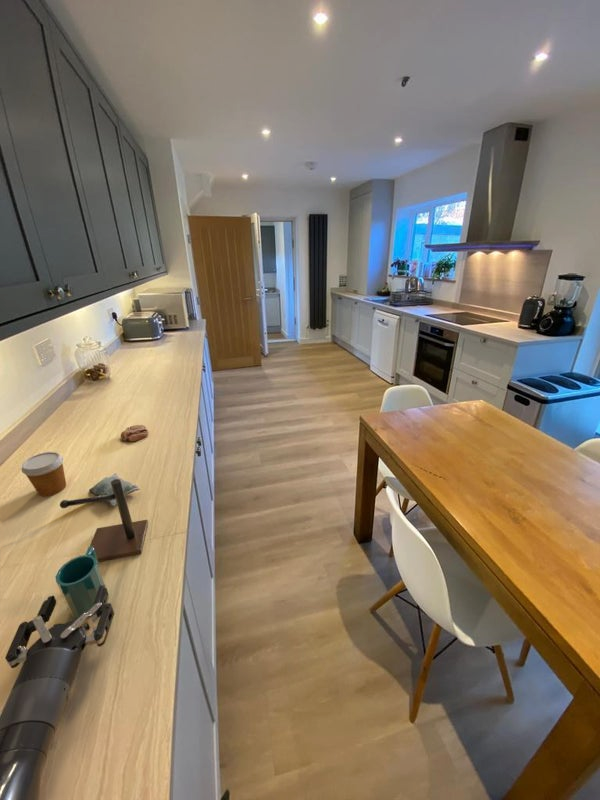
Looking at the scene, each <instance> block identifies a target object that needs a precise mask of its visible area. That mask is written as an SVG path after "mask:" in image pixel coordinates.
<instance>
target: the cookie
mask: <svg viewBox="0 0 600 800" xmlns="http://www.w3.org/2000/svg"><path fill="white" fill-rule="evenodd" d="M148 436H149V430H148V428H147V427H146V426H145V425H144V424H135V425H131V426H129V427H126V428H125V430H124V431H122V432H121V433H120V439H121V440H122V441H123V442H138V441H140V440H142V439H145V438H147V437H148Z"/></svg>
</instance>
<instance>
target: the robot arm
mask: <svg viewBox="0 0 600 800" xmlns="http://www.w3.org/2000/svg"><path fill="white" fill-rule="evenodd" d="M109 594H110V593H109V590H108V588H107V587H106V588H105V586H104V585H102V586H99V589H98V592H97V595H96V598H95V602H94V604H95V605H94V606H93V607H92V608H91V609H90V610H89V611H88V612H86V613H83V614H82V615H81V616H80V617H79V618H78V619H73V620H69V621H67V622H64V623H56V624H53V626H52V627H50V628H48V626H47V624H46V623H48V622H49V621H50V619H51V617H52V614H53V612H54V610H55V607H56V605H57V599H56V597H55V595H49V596H48V597H47V599H45V600H44V601H43V602H42V604H41V606H40V609H39V610H38V613H37V615H36V616H35V617H34V618H33V619H31V620H30V621H22V622H21V623H20V624H19V625H18V626H17V627H18V628H17V630H16V632H15V633H14V637H13V639H12V641H11V644H10V645H9V648H8V650H7V653H6V655H5V657H4V658H5V661H6V663H7V664H8V665H9V667H10V668H11V669H15V668H17V667H18V666H19V665H20V664H21V663H22V666H21V668H20V670H19V672H18V675H17V677H16V680H15V682H14V683H13V686H12V688H11V689H10V692H9V695H8V697H7V699H6V702H5V704H4V706H3V709H2V710H1V713H0V800H40V797H41V787H42V785H41V784H42V777H43V776H42V775H43V770H44V768H45V765H46V762H47V760H48V757H49V753H50V750H51V747H52V745H53V744H52V743H53V742H54V741H53V740H54V737H55V734H56V731H57V728H58V727H59V724H60V722H61V719H62V717H63V714H64V712H65V709H66V704H67V703H68V701H69V699H70V693H71V689H72V686H73V684H74V680H75V676H76V673H77V671H78V667H79V664H80V661H81V656H82V653H83V651H84V650H85V649H86V647H87V646H91V645H96V646H97V647H99V648H100V647H103V646H104V645H105V643H106V640H107V638H108V634H109V631H110V628H111V625H112V623H113V619H114V616H115V611H114V609H113V606H112V603H111V602H108V601H107V598H108V595H109ZM108 599H109V598H108ZM106 602H107V603H106ZM96 623H97V624H96ZM83 624H84V627H82V626H83ZM95 625H96V627H95ZM36 631H37V633H38V635H39V638H38V639H37V640H35V642H33V644H32V645H31V646H30V647H29V648H28V649H27V646H28V644H29V641H30V640H31V636H32V634H33V633H35V632H36ZM91 631H92V632H91ZM90 632H91V633H90ZM89 633H90V634H89Z"/></svg>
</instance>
